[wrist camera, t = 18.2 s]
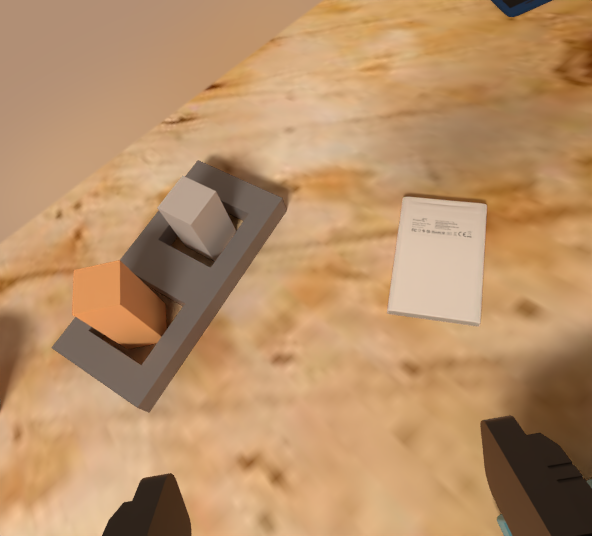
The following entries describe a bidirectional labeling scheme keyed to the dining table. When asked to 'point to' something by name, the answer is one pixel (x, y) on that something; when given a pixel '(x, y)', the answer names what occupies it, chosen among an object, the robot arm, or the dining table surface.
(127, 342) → the plug
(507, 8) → the cell phone
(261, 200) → the grey block holder
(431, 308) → the external hard drive
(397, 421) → the dining table surface
